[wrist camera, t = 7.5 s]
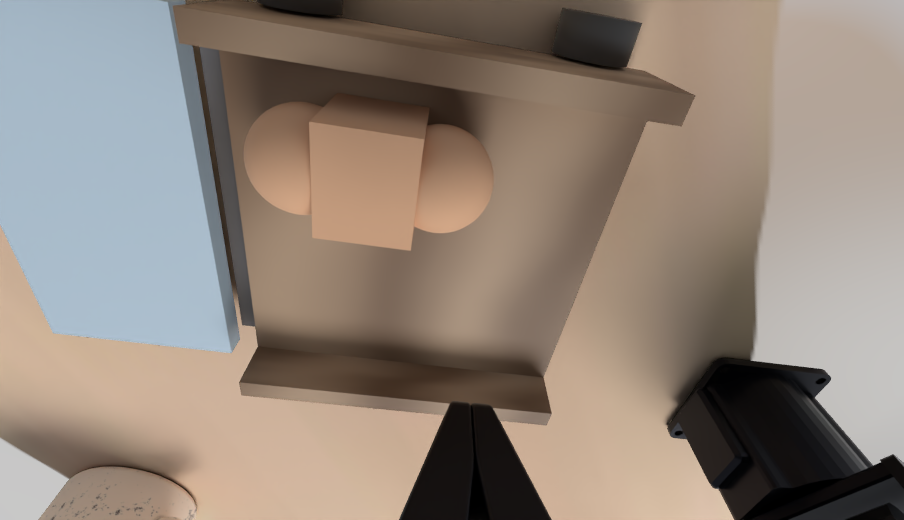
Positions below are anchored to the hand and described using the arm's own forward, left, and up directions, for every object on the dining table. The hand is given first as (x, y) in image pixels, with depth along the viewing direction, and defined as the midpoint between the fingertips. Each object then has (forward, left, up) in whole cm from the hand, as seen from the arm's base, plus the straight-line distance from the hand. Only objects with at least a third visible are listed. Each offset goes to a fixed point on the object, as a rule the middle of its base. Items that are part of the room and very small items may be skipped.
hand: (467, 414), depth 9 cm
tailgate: (+9, +1, -9) cm, 13 cm away
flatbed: (+1, +1, -11) cm, 11 cm away
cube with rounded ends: (+3, -2, -8) cm, 9 cm away
